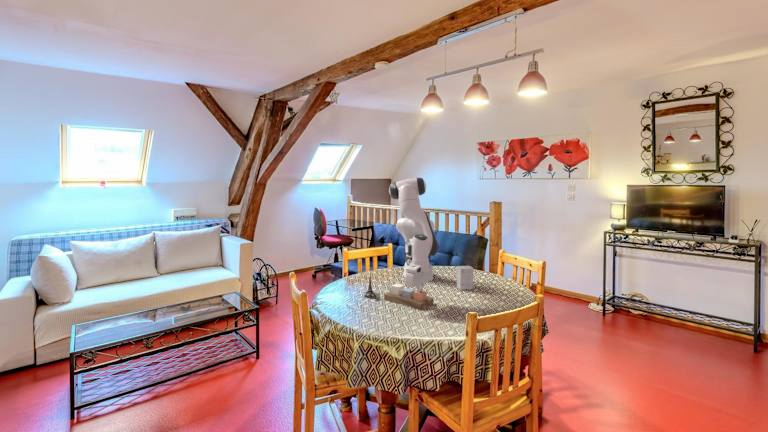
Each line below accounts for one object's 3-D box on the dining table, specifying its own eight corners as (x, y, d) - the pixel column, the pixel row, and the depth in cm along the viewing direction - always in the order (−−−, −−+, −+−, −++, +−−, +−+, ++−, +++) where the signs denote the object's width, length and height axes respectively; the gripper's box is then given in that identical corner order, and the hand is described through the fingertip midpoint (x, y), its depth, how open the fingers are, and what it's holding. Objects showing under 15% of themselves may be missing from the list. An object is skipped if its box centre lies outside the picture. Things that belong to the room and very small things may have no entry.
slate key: (407, 296, 219) (407, 288, 218) (415, 298, 216) (415, 289, 215) (402, 299, 215) (402, 290, 214) (409, 301, 212) (409, 292, 211)
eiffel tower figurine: (380, 302, 216) (380, 278, 214) (361, 302, 216) (361, 278, 214) (380, 293, 231) (380, 270, 229) (362, 293, 231) (362, 270, 229)
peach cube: (418, 298, 214) (419, 289, 213) (426, 300, 211) (426, 291, 210) (413, 301, 210) (413, 291, 210) (421, 303, 207) (421, 294, 206)
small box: (469, 286, 243) (469, 265, 241) (473, 289, 237) (473, 268, 235) (456, 286, 242) (456, 265, 240) (460, 290, 236) (460, 268, 234)
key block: (397, 294, 228) (397, 289, 227) (433, 303, 212) (433, 298, 212) (384, 299, 219) (384, 294, 218) (420, 309, 203) (420, 304, 203)
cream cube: (396, 292, 223) (396, 283, 223) (404, 294, 220) (404, 285, 220) (391, 294, 220) (391, 285, 219) (398, 296, 216) (398, 287, 216)
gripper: (426, 261, 218) (426, 286, 220) (403, 268, 202) (403, 295, 204) (436, 263, 214) (435, 288, 216) (413, 270, 198) (413, 297, 200)
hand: (419, 291), depth 210 cm, fingers closed
